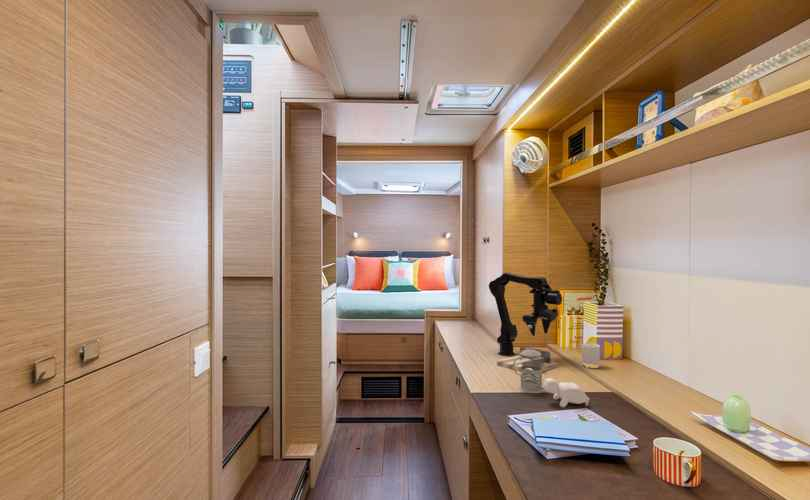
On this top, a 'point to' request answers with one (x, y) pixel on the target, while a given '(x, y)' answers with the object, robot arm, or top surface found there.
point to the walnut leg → (543, 353)
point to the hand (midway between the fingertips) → (539, 334)
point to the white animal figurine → (566, 392)
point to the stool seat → (518, 364)
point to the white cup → (590, 353)
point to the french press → (530, 372)
